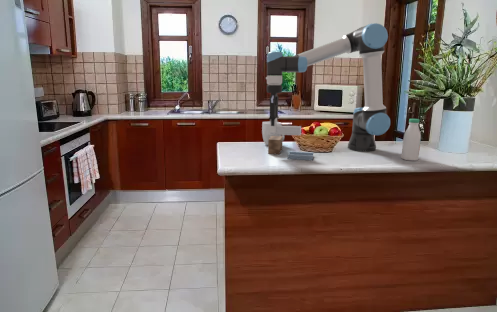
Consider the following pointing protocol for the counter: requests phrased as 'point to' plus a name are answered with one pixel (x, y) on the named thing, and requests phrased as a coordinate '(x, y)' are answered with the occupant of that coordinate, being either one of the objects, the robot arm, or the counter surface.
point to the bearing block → (275, 144)
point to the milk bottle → (411, 141)
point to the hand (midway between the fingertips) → (273, 131)
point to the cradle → (300, 155)
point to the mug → (268, 131)
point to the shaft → (287, 130)
